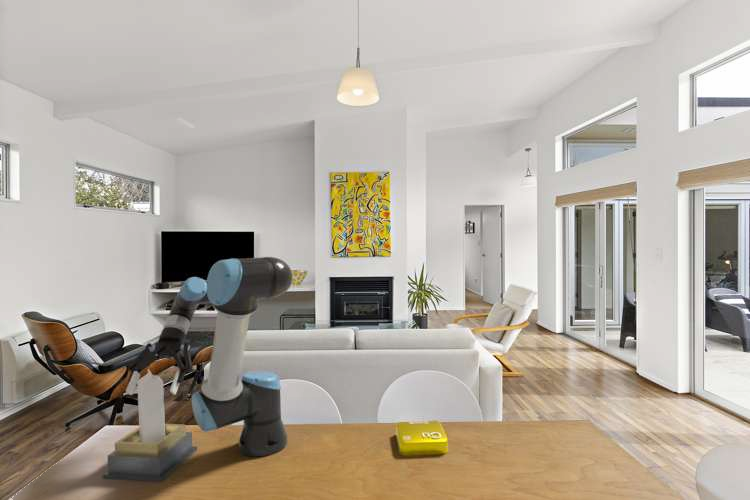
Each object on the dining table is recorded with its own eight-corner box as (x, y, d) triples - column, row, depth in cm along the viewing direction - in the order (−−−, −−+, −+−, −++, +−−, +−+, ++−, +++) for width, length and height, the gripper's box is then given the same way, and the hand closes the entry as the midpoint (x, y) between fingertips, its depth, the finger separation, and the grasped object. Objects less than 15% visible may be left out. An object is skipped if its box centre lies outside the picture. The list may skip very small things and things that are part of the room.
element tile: (439, 432, 144) (439, 418, 144) (449, 455, 129) (449, 439, 129) (395, 434, 144) (395, 420, 144) (400, 457, 129) (399, 441, 129)
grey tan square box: (197, 449, 136) (196, 421, 135) (160, 482, 118) (159, 449, 118) (145, 446, 138) (144, 419, 138) (102, 478, 121) (101, 446, 120)
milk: (143, 450, 124) (139, 375, 123) (139, 442, 129) (136, 370, 128) (166, 443, 127) (162, 370, 127) (162, 436, 132) (158, 366, 131)
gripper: (214, 337, 145) (195, 398, 131) (143, 338, 147) (116, 398, 132) (207, 325, 140) (186, 387, 125) (133, 326, 141) (104, 387, 127)
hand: (150, 393), depth 129 cm, fingers open, 13 cm apart
